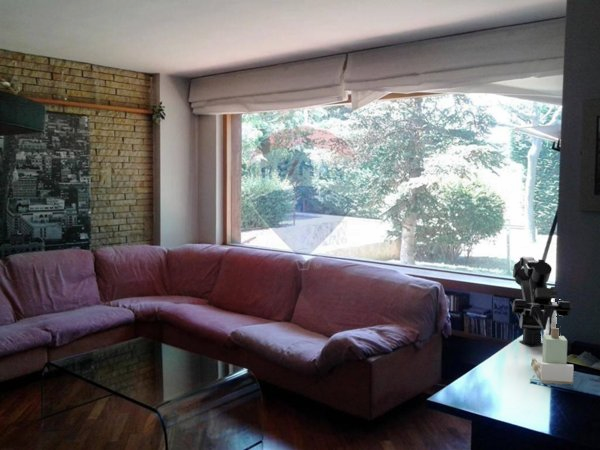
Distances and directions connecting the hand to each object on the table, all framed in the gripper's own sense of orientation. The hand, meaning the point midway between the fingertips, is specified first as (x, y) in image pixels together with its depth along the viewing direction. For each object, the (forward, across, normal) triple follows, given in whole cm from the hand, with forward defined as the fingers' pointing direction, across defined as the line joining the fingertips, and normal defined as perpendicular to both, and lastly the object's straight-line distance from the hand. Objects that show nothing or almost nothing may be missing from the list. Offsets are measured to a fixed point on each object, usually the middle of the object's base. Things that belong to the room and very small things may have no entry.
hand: (544, 328), depth 185 cm
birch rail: (+17, 0, 0) cm, 17 cm away
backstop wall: (+22, 0, -6) cm, 23 cm away
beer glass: (-14, +10, +32) cm, 36 cm away
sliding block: (+19, 0, -4) cm, 19 cm away
